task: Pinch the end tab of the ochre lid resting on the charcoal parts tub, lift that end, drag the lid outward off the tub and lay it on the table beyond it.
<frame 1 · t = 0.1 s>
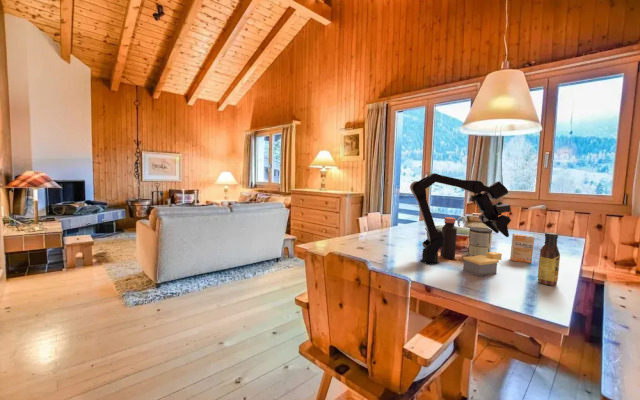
hand: (502, 234, 135), 15 cm above the table, tool tilted 30°, fingers open, 9 cm apart
supplement box: (520, 261, 146), on the table
sauce bottle: (546, 283, 117), on the table
tub: (479, 272, 128), on the table
vinegar: (447, 257, 149), on the table
lid: (480, 260, 127), point 5 cm above the table, touching tub
coffee can: (478, 256, 153), on the table
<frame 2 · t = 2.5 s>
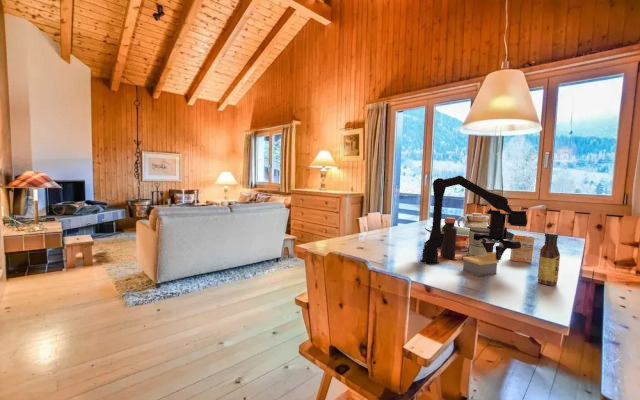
hand: (494, 259, 130), 5 cm above the table, tool pointing down, fingers closed on lid, 3 cm apart
lid: (480, 260, 127), point 5 cm above the table, touching gripper, tub
everything else where it was.
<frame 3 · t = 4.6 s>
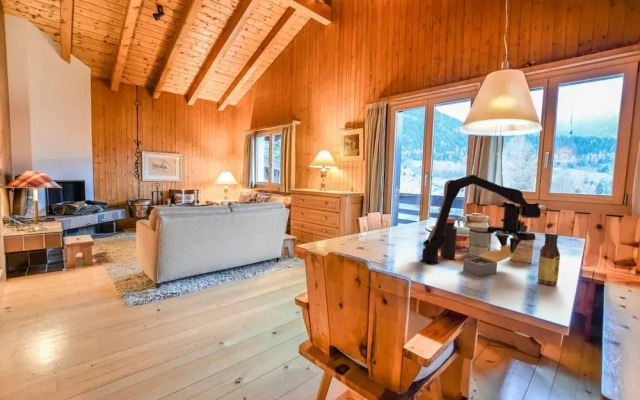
hand: (508, 251, 133), 8 cm above the table, tool pointing down, fingers closed on lid, 3 cm apart
lid: (495, 256, 130), point 6 cm above the table, tilted 11°, touching gripper
everything else where it was.
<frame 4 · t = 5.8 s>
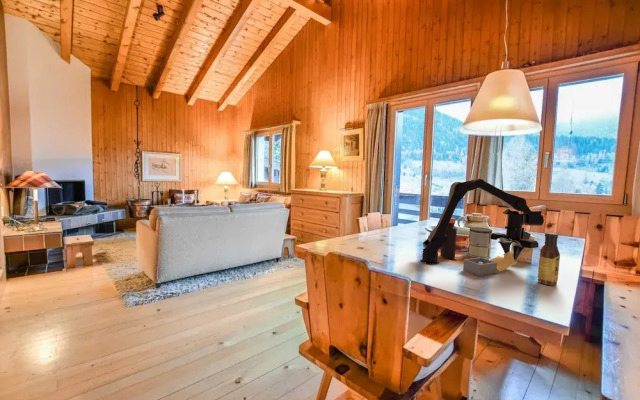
hand: (511, 258, 134), 4 cm above the table, tool pointing down, fingers closed on lid, 3 cm apart
lid: (498, 264, 132), point 2 cm above the table, tilted 15°, touching gripper
everything else where it was.
when the fingers open (3 cm above the table, at t = 6.7 s): lid drops 1 cm, on the table.
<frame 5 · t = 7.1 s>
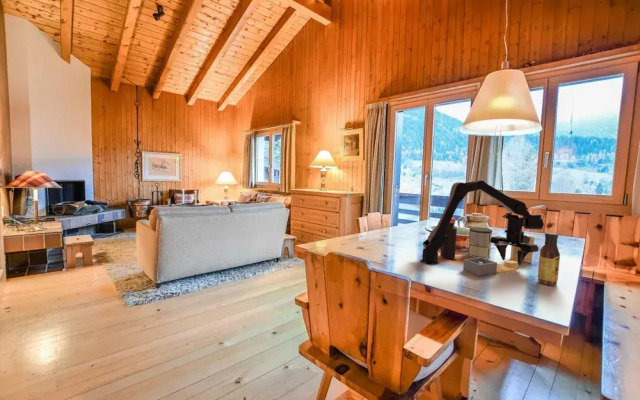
hand: (511, 262, 135), 3 cm above the table, tool pointing down, fingers open, 7 cm apart
lid: (498, 269, 132), on the table
everything else where it was.
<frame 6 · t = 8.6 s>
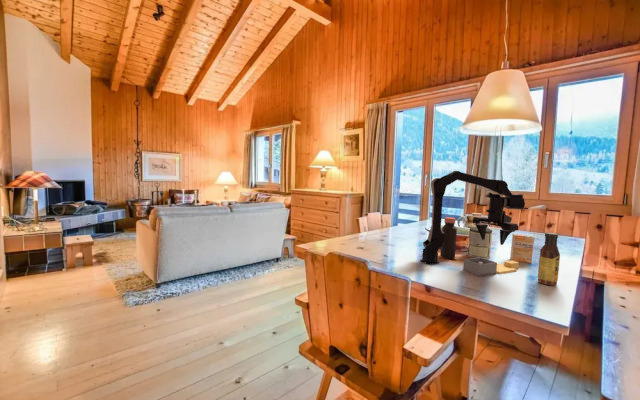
hand: (492, 242, 134), 12 cm above the table, tool pointing down, fingers open, 9 cm apart
nothing on the table moved.
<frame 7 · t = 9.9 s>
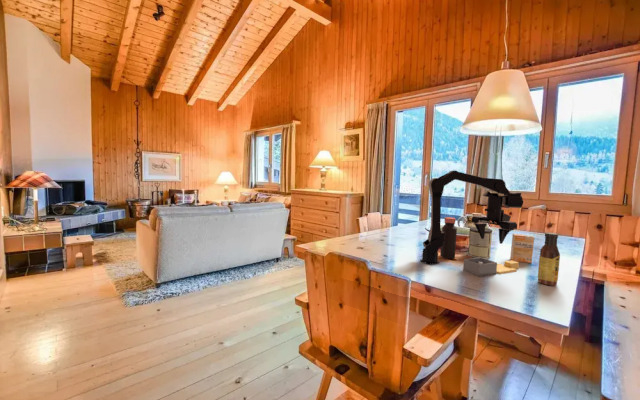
hand: (491, 241, 134), 12 cm above the table, tool pointing down, fingers open, 9 cm apart
nothing on the table moved.
at the end: lid on the table; lid moved 12.8 cm from its start; the gripper is holding nothing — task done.
